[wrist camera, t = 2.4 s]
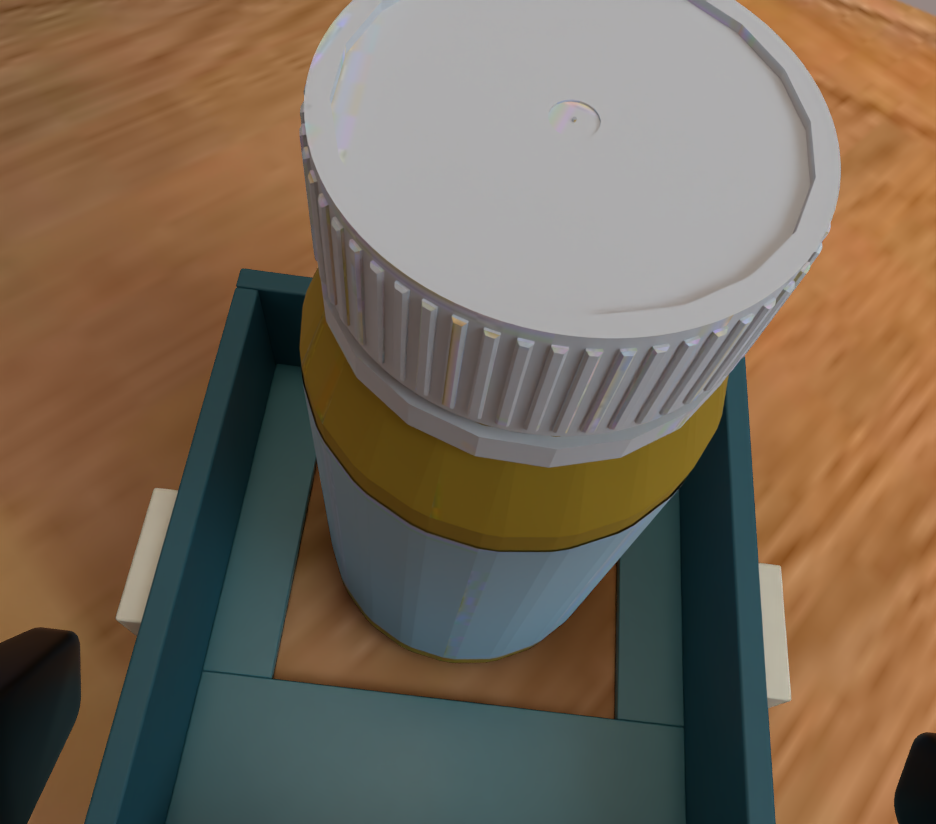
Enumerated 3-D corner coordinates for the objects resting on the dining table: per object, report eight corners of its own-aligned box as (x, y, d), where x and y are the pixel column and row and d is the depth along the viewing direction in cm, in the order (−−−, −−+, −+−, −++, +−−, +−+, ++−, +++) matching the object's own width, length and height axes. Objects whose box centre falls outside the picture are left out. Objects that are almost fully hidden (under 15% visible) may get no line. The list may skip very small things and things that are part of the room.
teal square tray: (739, 1015, 18) (825, 1059, 15) (81, 944, 18) (4, 972, 14) (713, 407, 25) (767, 337, 22) (241, 345, 25) (216, 263, 21)
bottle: (484, 381, 25) (600, -141, 12) (640, 564, 23) (1005, 180, 9) (284, 508, 22) (139, 37, 9) (437, 727, 20) (537, 523, 7)
